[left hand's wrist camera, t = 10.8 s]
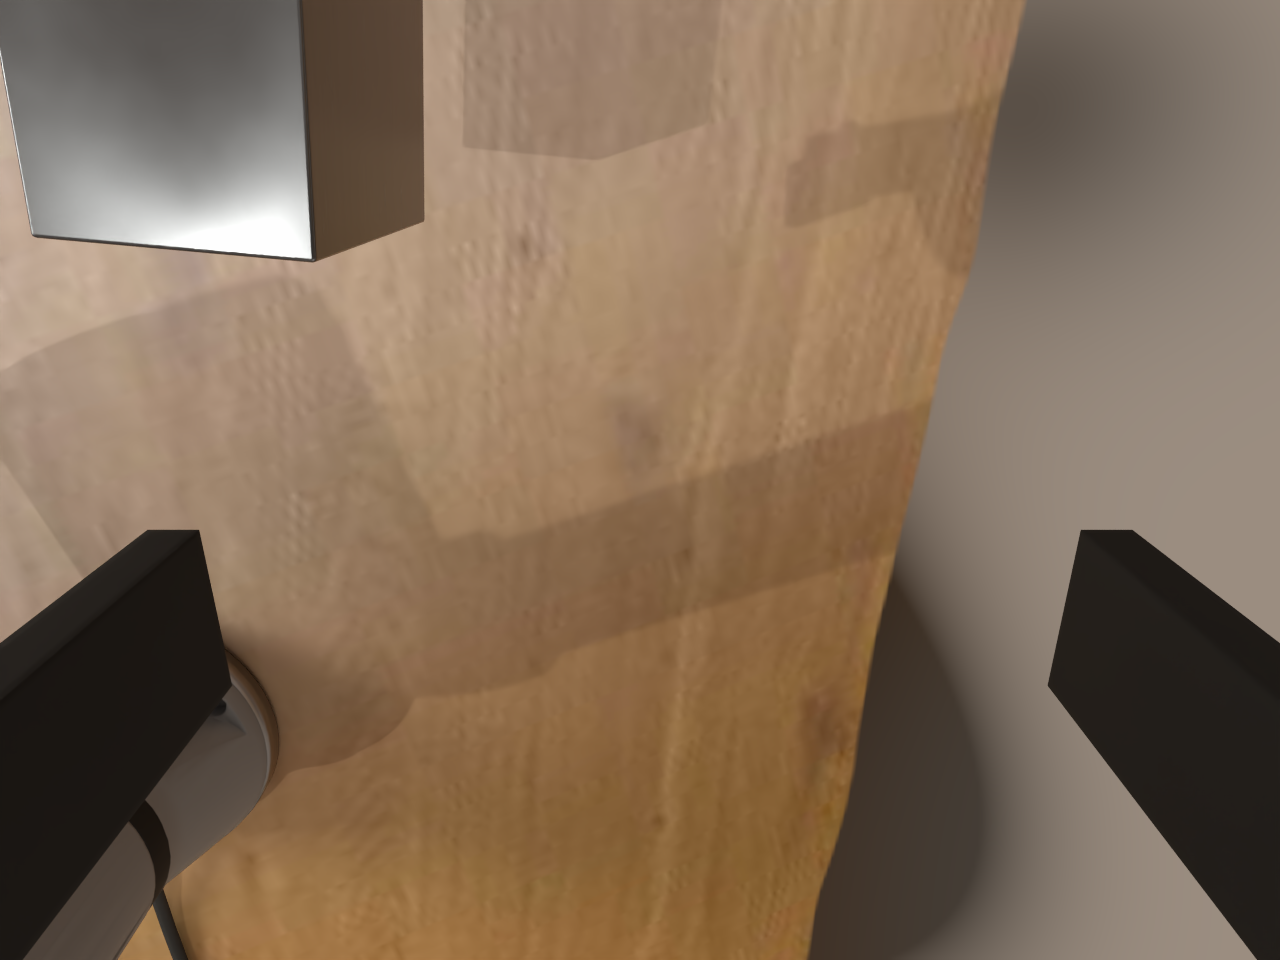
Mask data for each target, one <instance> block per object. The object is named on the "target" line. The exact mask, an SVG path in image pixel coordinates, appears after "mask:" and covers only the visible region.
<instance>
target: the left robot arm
mask: <svg viewBox="0 0 1280 960" xmlns="http://www.w3.org/2000/svg"><path fill="white" fill-rule="evenodd" d="M1048 687H1049V688H1050V689H1051V691H1052V692H1053V693H1054V694H1055V696H1056V697H1057V698H1058V700H1059V701H1060V702H1061V704H1062V705H1063V706H1064V708H1065V709H1066V710H1067V711H1068V713H1069V714H1070V715H1071V717H1072V718H1073V719H1074V721H1075V722H1076V723H1077V724H1078V726H1079V727H1080V729H1081V730H1082V731H1083V732H1084V734H1085V735H1086V736H1087V738H1088V739H1089V740H1090V742H1091V743H1092V744H1093V746H1094V747H1095V748H1096V749H1097V751H1098V752H1099V753H1100V755H1101V756H1102V757H1103V759H1104V760H1105V761H1106V762H1107V764H1108V765H1109V766H1110V768H1111V769H1112V770H1113V772H1114V773H1115V774H1116V776H1117V777H1118V778H1119V780H1120V781H1121V782H1122V783H1123V785H1124V786H1125V787H1126V789H1127V790H1128V791H1129V793H1130V794H1131V795H1132V797H1133V798H1134V799H1135V800H1136V802H1137V803H1138V804H1139V806H1140V807H1141V808H1142V810H1143V811H1144V812H1145V814H1146V815H1147V816H1148V818H1149V819H1150V820H1151V821H1152V823H1153V824H1154V825H1155V827H1156V828H1157V829H1158V831H1159V832H1160V833H1161V835H1162V836H1163V837H1164V838H1165V840H1166V841H1167V842H1168V844H1169V845H1170V846H1171V848H1172V849H1173V850H1174V852H1175V853H1176V854H1177V856H1178V857H1179V858H1180V859H1181V861H1182V862H1183V863H1184V865H1185V866H1186V867H1187V869H1188V870H1189V871H1190V873H1191V874H1192V875H1193V876H1194V878H1195V879H1196V880H1197V882H1198V883H1199V884H1200V886H1201V887H1202V888H1203V890H1204V891H1205V892H1206V893H1207V895H1208V896H1209V897H1210V899H1211V900H1212V901H1213V903H1214V904H1215V905H1216V907H1217V908H1218V909H1219V911H1220V912H1221V913H1222V914H1223V916H1224V917H1225V918H1226V920H1227V921H1228V922H1229V923H1230V925H1231V926H1232V927H1233V929H1234V930H1235V931H1236V933H1237V934H1238V935H1239V937H1240V938H1241V939H1242V941H1243V942H1244V943H1245V945H1246V946H1247V947H1248V948H1249V950H1250V951H1251V952H1252V954H1253V955H1254V956H1255V958H1256V959H1257V960H1280V643H1279V642H1278V641H1276V640H1275V639H1274V638H1272V637H1271V636H1270V635H1268V634H1267V633H1266V632H1265V631H1263V630H1262V629H1261V628H1259V627H1258V626H1257V625H1255V624H1254V623H1253V622H1251V621H1250V620H1249V619H1248V618H1246V617H1245V616H1244V615H1242V614H1241V613H1240V612H1239V611H1237V610H1236V609H1235V608H1233V607H1232V606H1231V605H1229V604H1228V603H1227V602H1225V601H1224V600H1223V599H1222V598H1220V597H1219V596H1218V595H1216V594H1215V593H1214V592H1212V591H1211V590H1210V589H1209V588H1207V587H1206V586H1205V585H1203V584H1202V583H1201V582H1199V581H1198V580H1197V579H1196V578H1194V577H1193V576H1192V575H1190V574H1189V573H1188V572H1186V571H1185V570H1184V569H1182V568H1181V567H1180V566H1179V565H1177V564H1176V563H1175V562H1173V561H1172V560H1171V559H1170V558H1168V557H1167V556H1166V555H1164V554H1163V553H1162V552H1160V551H1159V550H1158V549H1157V548H1155V547H1154V546H1153V545H1151V544H1150V543H1149V542H1147V541H1146V540H1145V539H1143V538H1142V537H1141V536H1139V535H1138V534H1137V533H1136V532H1134V531H1133V530H1081V532H1080V537H1079V541H1078V546H1077V551H1076V555H1075V560H1074V565H1073V569H1072V574H1071V579H1070V583H1069V588H1068V593H1067V597H1066V602H1065V607H1064V612H1063V616H1062V621H1061V626H1060V630H1059V635H1058V640H1057V644H1056V649H1055V654H1054V659H1053V663H1052V668H1051V673H1050V677H1049V682H1048ZM278 752H279V735H278V729H277V723H276V720H275V716H274V713H273V710H272V708H271V706H270V703H269V701H268V699H267V697H266V695H265V694H264V692H263V690H262V689H261V687H260V686H259V684H258V683H257V681H256V680H255V679H254V677H253V676H252V675H251V674H250V672H249V671H248V670H247V669H246V668H245V667H244V666H243V665H242V664H241V663H240V662H239V661H238V660H237V659H236V658H235V657H233V656H232V655H231V654H230V653H229V652H228V651H226V650H225V649H224V644H223V640H222V635H221V630H220V626H219V621H218V616H217V612H216V607H215V602H214V597H213V593H212V588H211V583H210V579H209V574H208V569H207V565H206V560H205V555H204V551H203V546H202V541H201V537H200V532H199V530H147V531H146V532H144V533H143V534H142V535H140V536H139V537H138V538H137V539H135V540H134V541H133V542H131V543H130V544H129V545H127V546H126V547H125V548H123V549H122V550H121V551H120V552H118V553H117V554H116V555H114V556H113V557H112V558H110V559H109V560H108V561H107V562H105V563H104V564H103V565H101V566H100V567H99V568H97V569H96V570H95V571H94V572H92V573H91V574H90V575H88V576H87V577H86V578H84V579H83V580H82V581H81V582H79V583H78V584H77V585H75V586H74V587H73V588H71V589H70V590H69V591H68V592H66V593H65V594H64V595H62V596H61V597H60V598H58V599H57V600H56V601H55V602H53V603H52V604H51V605H49V606H48V607H47V608H45V609H44V610H43V611H41V612H40V613H39V614H38V615H36V616H35V617H34V618H32V619H31V620H30V621H28V622H27V623H26V624H25V625H23V626H22V627H21V628H19V629H18V630H17V631H15V632H14V633H13V634H12V635H10V636H9V637H8V638H6V639H5V640H4V641H2V642H1V643H0V960H117V959H118V958H119V956H120V955H121V953H122V952H123V950H124V949H125V947H126V945H127V944H128V942H129V941H130V939H131V938H132V936H133V934H134V933H135V931H136V930H137V928H138V927H139V925H140V924H141V922H142V920H143V919H144V917H145V916H146V914H147V912H148V911H149V909H150V907H151V906H152V904H153V906H154V909H155V912H156V915H157V918H158V921H159V923H160V926H161V929H162V932H163V935H164V937H165V940H166V943H167V945H168V948H169V950H170V953H171V956H172V958H173V960H188V958H187V955H186V953H185V950H184V947H183V945H182V942H181V939H180V937H179V934H178V931H177V929H176V926H175V923H174V920H173V917H172V914H171V911H170V908H169V905H168V902H167V899H166V896H165V893H164V890H163V888H164V886H165V885H166V884H167V883H168V882H169V881H171V880H172V879H173V878H174V877H176V876H177V875H178V874H179V873H180V872H182V871H183V870H184V869H185V868H187V867H188V866H189V865H190V864H192V863H193V862H194V861H195V860H196V859H198V858H199V857H200V856H201V855H203V854H204V853H205V852H206V851H207V850H209V849H210V848H211V847H212V846H213V845H215V844H216V843H217V842H218V841H219V840H221V839H222V838H223V837H224V836H226V835H227V834H228V833H230V832H231V831H232V830H233V829H234V828H235V827H237V826H238V825H239V823H240V822H241V821H242V820H243V819H244V818H245V817H246V816H247V815H248V814H249V813H250V812H251V810H252V809H253V808H254V806H255V805H256V803H257V802H258V800H259V799H260V797H261V795H262V794H263V792H264V790H265V788H266V787H267V785H268V783H269V781H270V779H271V777H272V775H273V773H274V770H275V767H276V764H277V759H278Z"/></svg>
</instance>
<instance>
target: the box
mask: <svg viewBox="0 0 1280 960" xmlns="http://www.w3.org/2000/svg"><path fill="white" fill-rule="evenodd" d="M0 61H1V66H2V72H3V77H4V83H5V89H6V94H7V100H8V105H9V111H10V117H11V122H12V128H13V133H14V139H15V145H16V150H17V156H18V161H19V167H20V173H21V178H22V184H23V189H24V195H25V200H26V206H27V212H28V217H29V223H30V228H31V234H32V235H33V236H34V237H37V238H46V239H57V240H69V241H80V242H91V243H102V244H113V245H124V246H136V247H147V248H158V249H169V250H180V251H191V252H202V253H214V254H225V255H236V256H247V257H258V258H269V259H281V260H292V261H303V262H316V261H319V260H321V259H324V258H327V257H329V256H332V255H335V254H338V253H340V252H343V251H346V250H348V249H351V248H354V247H356V246H359V245H362V244H365V243H367V242H370V241H373V240H375V239H378V238H381V237H383V236H386V235H389V234H392V233H394V232H397V231H400V230H402V229H405V228H408V227H411V226H413V225H416V224H419V223H421V222H424V117H423V0H0Z"/></svg>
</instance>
